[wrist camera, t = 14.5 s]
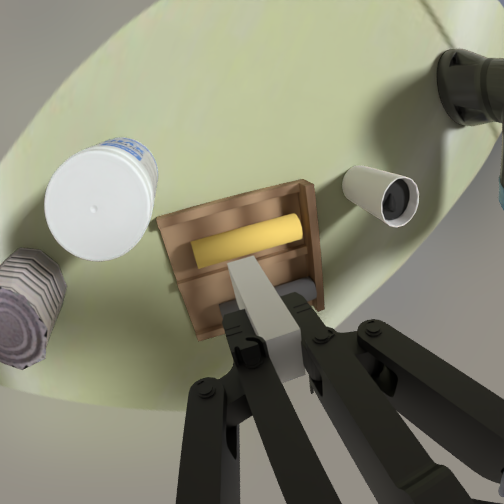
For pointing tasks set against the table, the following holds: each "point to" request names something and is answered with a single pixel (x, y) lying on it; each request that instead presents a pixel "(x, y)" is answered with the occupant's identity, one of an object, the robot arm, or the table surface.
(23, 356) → the can
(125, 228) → the supplement tub
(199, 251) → the ochre rod
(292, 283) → the charcoal rod
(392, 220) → the white cup
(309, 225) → the walnut slot rack
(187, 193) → the table surface
